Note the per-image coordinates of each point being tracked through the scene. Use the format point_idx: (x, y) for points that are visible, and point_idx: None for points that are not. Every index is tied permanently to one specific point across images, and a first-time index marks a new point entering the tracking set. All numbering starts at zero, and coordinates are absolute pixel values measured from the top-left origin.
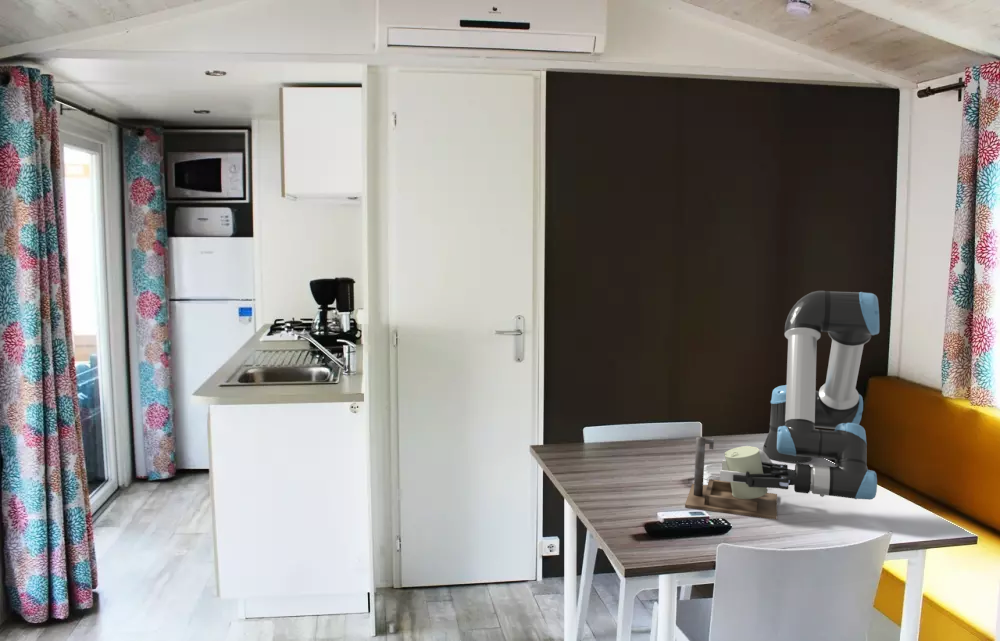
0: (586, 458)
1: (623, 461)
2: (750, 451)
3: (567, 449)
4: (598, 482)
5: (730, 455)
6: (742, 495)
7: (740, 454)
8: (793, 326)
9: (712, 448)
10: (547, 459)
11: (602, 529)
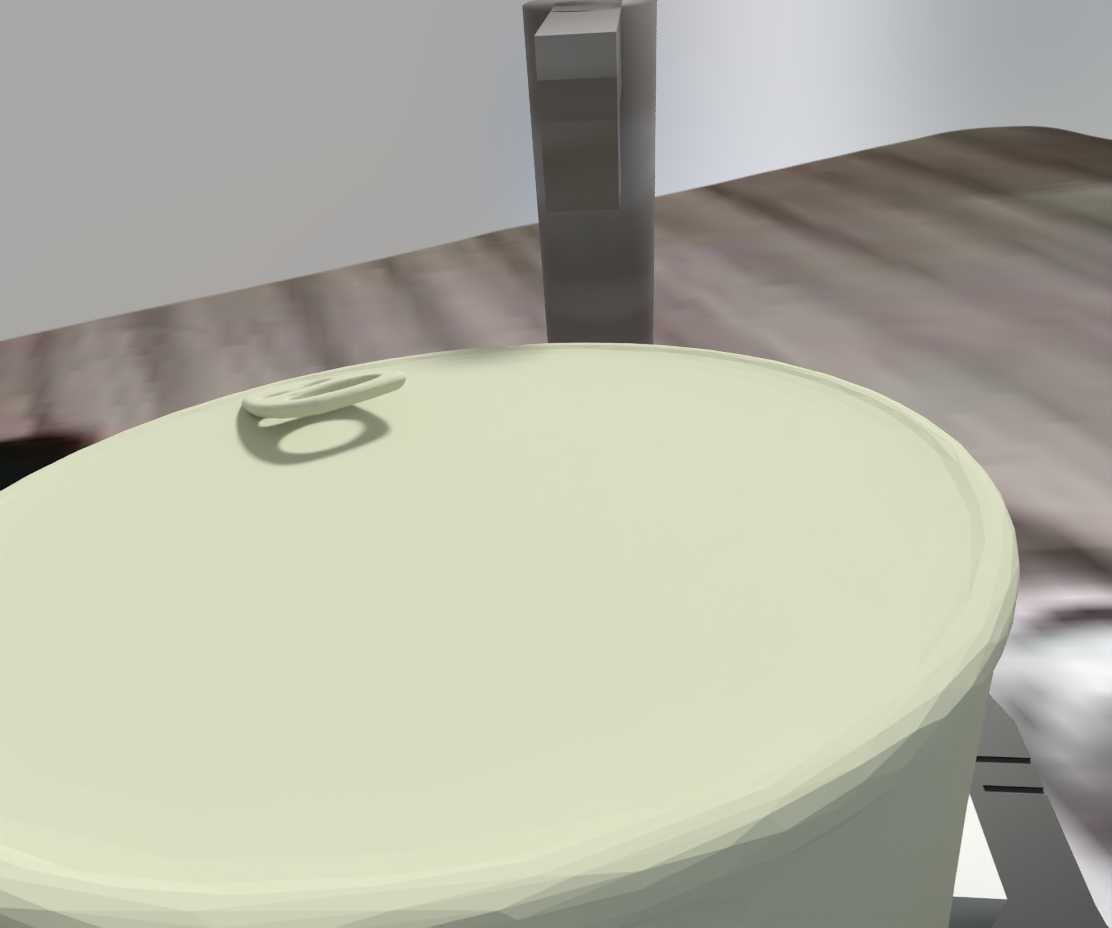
0: (1001, 202)
1: (1107, 276)
2: (348, 628)
3: (1069, 159)
4: (665, 263)
5: (312, 380)
6: None
7: (278, 478)
8: None
9: (548, 193)
10: (868, 154)
11: (37, 339)
